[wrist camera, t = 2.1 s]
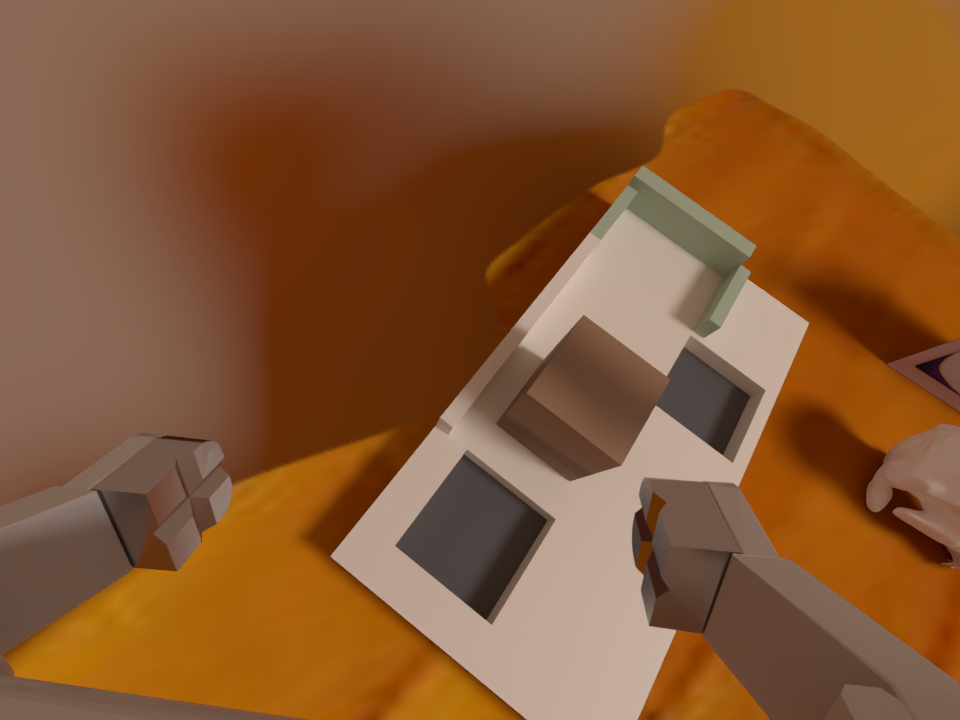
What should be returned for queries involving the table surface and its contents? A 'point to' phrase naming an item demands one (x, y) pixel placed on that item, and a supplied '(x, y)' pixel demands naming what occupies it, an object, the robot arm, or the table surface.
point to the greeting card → (935, 371)
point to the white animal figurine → (924, 484)
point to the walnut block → (585, 403)
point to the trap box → (592, 499)
